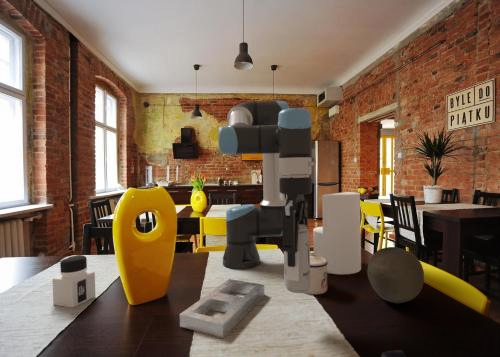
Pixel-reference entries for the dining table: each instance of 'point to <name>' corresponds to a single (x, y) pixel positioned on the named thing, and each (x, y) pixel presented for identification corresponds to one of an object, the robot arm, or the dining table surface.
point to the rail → (222, 308)
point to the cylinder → (340, 233)
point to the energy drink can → (300, 263)
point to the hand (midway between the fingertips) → (297, 274)
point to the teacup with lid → (317, 274)
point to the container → (73, 282)
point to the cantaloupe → (395, 274)
